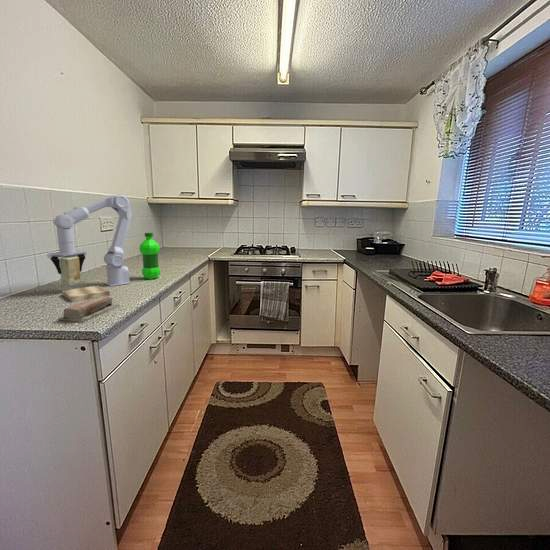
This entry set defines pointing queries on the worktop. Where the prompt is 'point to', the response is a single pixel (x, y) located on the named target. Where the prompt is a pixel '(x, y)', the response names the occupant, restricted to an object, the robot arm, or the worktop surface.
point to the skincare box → (70, 270)
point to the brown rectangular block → (89, 309)
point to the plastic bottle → (150, 257)
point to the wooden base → (85, 293)
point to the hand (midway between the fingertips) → (70, 272)
